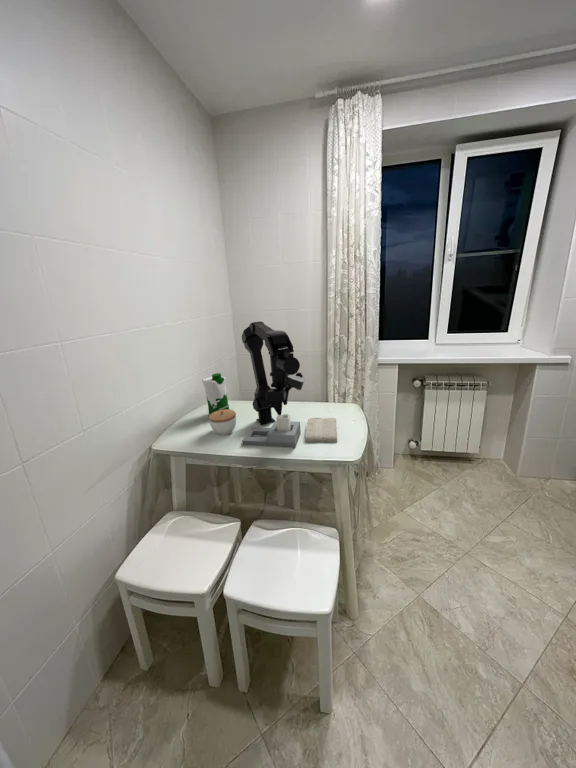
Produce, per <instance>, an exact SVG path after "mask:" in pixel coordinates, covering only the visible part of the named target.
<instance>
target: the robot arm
mask: <svg viewBox="0 0 576 768" xmlns="http://www.w3.org/2000/svg"><path fill="white" fill-rule="evenodd" d="M241 341H242V343H243V345H244V348H245V349H246V350H247V352H248V353H249V354H250V360H251V364H252V370H253V374H254V375H253V376H254V381H255V385H256V388H255V391H254V399H253V402H252V409H253V410H254V411H256V413H257V414H258V415H257V416H258V418H256V419H255V421H256V422H258V423H259V424H260V425H261V426H264V425H269V424H271V423H272V424H273V423H274V422H275V421H276V419H274V418H273V416H272V409H274V411H275V412H276V414H277V416H278V415H282V413H283V412H282V411H283V406H287V405H288V400H289V393H290V391H291V389H292V388H293V389H296V391H297V390H298V391H301V390H302V388H303V386H304V382H305V377H304V376H303V372H301V371H299V370H300V367H301V364H300V361H299V360H298V359H297V358H296V357H295V356H294V352H295V351H294V345H293V343H292V341H291V339H290V337H289V335H288V333H287V332H286V331H283V330H275V329H273V328H271V327H269V326H268V325H267V324H265V323H264V321H253V322H250V323H249V325H248V327H246V328H245V329H244V330H243V331H242V334H241ZM263 346H265V347H266V349H267V350H268V355H269V359H270V361H269V362H270V372H269V376H270V377H271V384H270V386H269V384H268V379H267V374H266V370H265V363H264V359H263V358H264V357H263V354H262V348H263Z"/></svg>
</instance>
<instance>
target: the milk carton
mask: <svg viewBox="0 0 576 768" xmlns="http://www.w3.org/2000/svg"><path fill="white" fill-rule="evenodd" d="M226 383H227V376H222V374H221V373H220V372H219V373H218V372H217V373H213V374H211V376H209V377H207V378H204V379H202V384H203V386H204V390H205V394H206V395H205V396H206V401H207V406H208V407H207V408H208V416H209V415H210V414H211V413H213V412H216V411H219V410H225V409H228V410H230V405H229V400H228V393H227V385H226Z"/></svg>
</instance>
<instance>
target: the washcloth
mask: <svg viewBox="0 0 576 768" xmlns="http://www.w3.org/2000/svg"><path fill="white" fill-rule="evenodd" d="M337 435H338V432H337V419H336V417H326V418H323V417H309V418H308V419H307V422H306V428H305V442H308V443H316V442H319V443H321V442H322V443H328V442H329V443H335V442H338V436H337Z"/></svg>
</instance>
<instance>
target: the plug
mask: <svg viewBox="0 0 576 768" xmlns="http://www.w3.org/2000/svg"><path fill="white" fill-rule="evenodd" d="M275 421H277V431H291V422H292V421H291V415H289V414H287V413H284V414H281V415H278V414H277V415H276V418H275ZM290 421H291V422H290Z"/></svg>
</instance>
